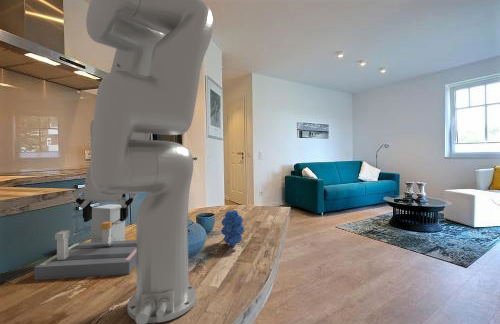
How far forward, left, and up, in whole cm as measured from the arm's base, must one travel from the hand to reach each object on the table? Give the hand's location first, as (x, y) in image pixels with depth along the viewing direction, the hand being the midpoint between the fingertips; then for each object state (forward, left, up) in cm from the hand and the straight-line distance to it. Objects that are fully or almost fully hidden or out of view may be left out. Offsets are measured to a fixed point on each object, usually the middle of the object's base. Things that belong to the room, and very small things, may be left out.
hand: (105, 220), depth 71 cm
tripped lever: (-1, 0, -7) cm, 7 cm away
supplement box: (+11, +4, -11) cm, 16 cm away
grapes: (+3, -38, -11) cm, 40 cm away
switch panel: (-5, 0, -10) cm, 11 cm away
